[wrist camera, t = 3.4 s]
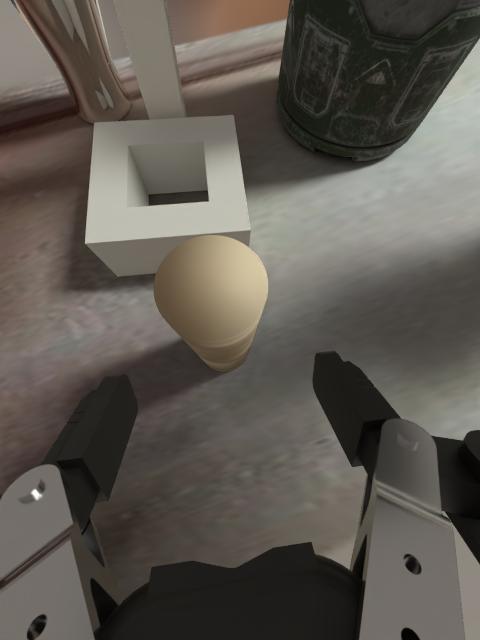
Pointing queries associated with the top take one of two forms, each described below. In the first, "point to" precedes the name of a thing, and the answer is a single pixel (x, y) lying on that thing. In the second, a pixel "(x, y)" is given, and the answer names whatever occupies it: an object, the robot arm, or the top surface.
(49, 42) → the beer glass
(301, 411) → the top surface
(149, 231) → the kiosk
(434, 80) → the canister
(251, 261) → the peg
